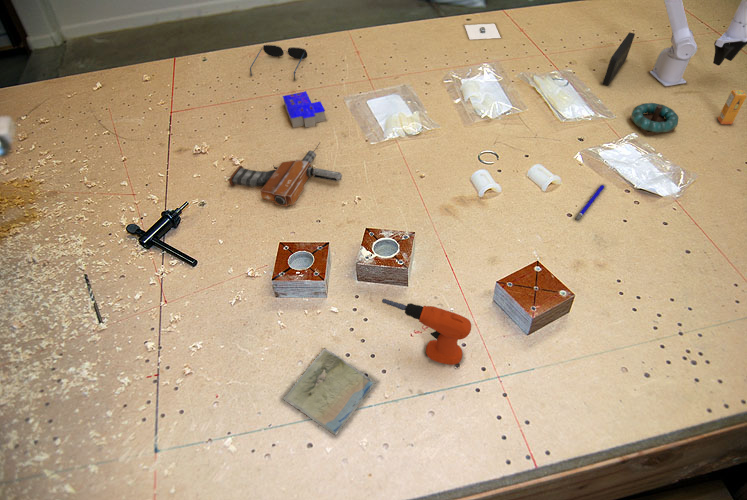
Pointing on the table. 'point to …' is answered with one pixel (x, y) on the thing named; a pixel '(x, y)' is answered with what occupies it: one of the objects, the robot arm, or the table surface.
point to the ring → (652, 125)
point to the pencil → (590, 202)
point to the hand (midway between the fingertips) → (722, 61)
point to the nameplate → (618, 58)
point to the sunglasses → (278, 52)
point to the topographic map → (329, 391)
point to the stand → (656, 118)
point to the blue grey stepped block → (303, 110)
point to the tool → (283, 179)
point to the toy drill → (439, 330)
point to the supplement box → (732, 106)
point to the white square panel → (482, 31)
